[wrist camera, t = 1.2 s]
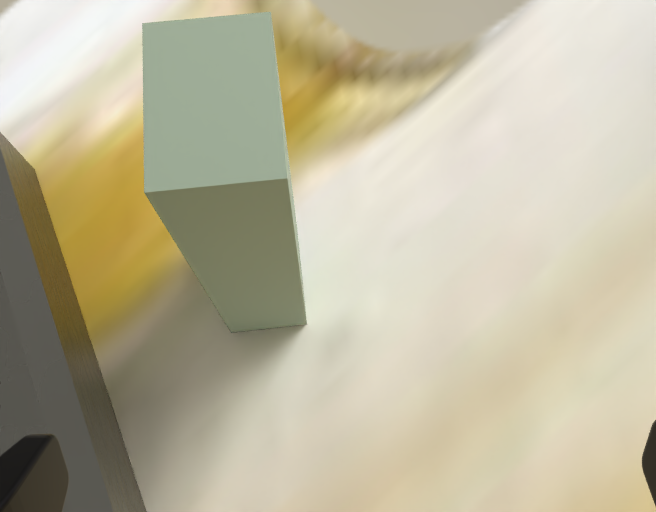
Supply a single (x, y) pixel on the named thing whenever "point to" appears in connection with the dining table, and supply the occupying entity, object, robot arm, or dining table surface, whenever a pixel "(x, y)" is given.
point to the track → (53, 353)
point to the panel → (224, 164)
